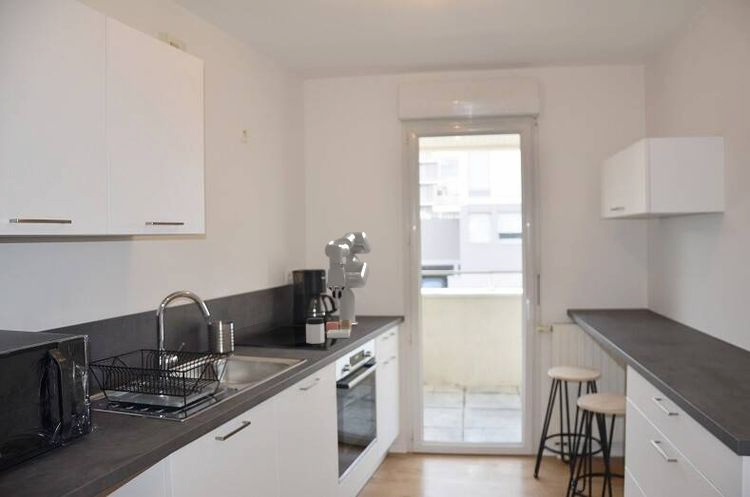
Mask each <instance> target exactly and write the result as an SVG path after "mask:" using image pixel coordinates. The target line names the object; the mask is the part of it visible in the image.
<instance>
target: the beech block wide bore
mask: <svg viewBox="0 0 750 497" xmlns="http://www.w3.org/2000/svg"><path fill="white" fill-rule="evenodd" d="M339 322H340V325H339V330H350V333H352V325H351V320H340V319H339Z"/></svg>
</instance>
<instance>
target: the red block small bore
mask: <svg viewBox="0 0 750 497" xmlns="http://www.w3.org/2000/svg"><path fill="white" fill-rule="evenodd" d="M338 322H339V321H327V322H326V325H325V330H326V335H327V332H328V331H329V330H339V325H338Z"/></svg>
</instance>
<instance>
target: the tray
mask: <svg viewBox="0 0 750 497" xmlns="http://www.w3.org/2000/svg"><path fill="white" fill-rule="evenodd" d="M350 336H351V332H350V330H340V329H338V330H329V331H328V332H327V334H326V339H349V338H350Z"/></svg>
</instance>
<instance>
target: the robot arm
mask: <svg viewBox="0 0 750 497" xmlns="http://www.w3.org/2000/svg"><path fill="white" fill-rule="evenodd" d="M371 251H372V245H371V241H370V239H369V237H368V235H367V234H366V233H365V232H363V231H349V232H346V233H345V234H344V235H342V237H340V238H337V239H334V240H331V241H329V242H328V243H327V244H326V245H325V248H324V253H325V255H326V256H325V257H328V258H329V268H328V270H327V281H326V284H325V288H326V289H329V290H330V291H331V296H332V299H333V300H335V289H334V287H339V305H340V308H338V309H339V312H338V313H339V315H338V316H339V318H338V319H339V321H337V322H338V326H340V320H351V326H356V325H358V324H359V322H358V321H356V301H355V300H356V298H355V297H356V296H355V293H354V292H353V290H352V289H362V288H364V287H365V286H366V284H367V280H368V277H369V274H370V267H369V264H368V263H367V262H364V261H363V262H362V261H360V259H359V257H358V256H357V255H365V254H366V255H367V254H369V253H371ZM343 258H345V259H346V260H345V263H344V260H343Z"/></svg>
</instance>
